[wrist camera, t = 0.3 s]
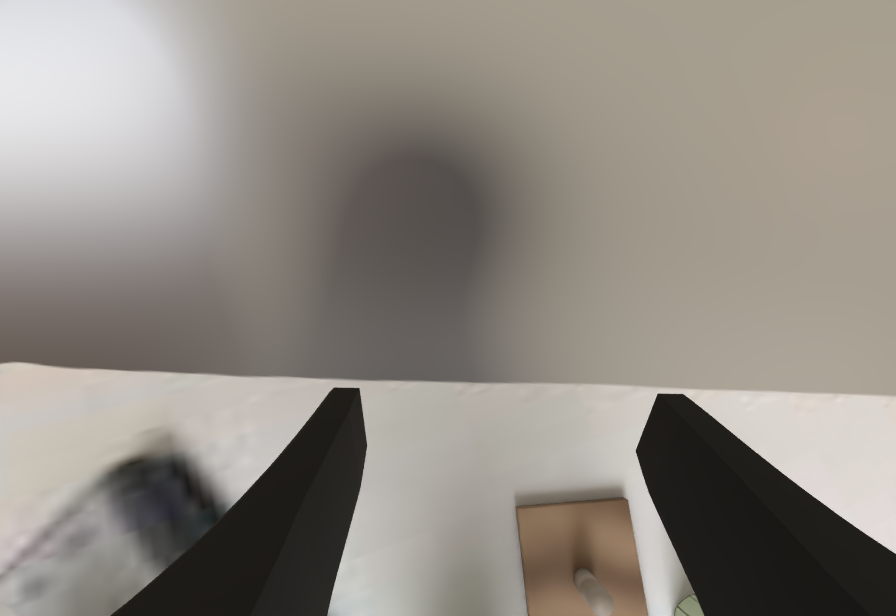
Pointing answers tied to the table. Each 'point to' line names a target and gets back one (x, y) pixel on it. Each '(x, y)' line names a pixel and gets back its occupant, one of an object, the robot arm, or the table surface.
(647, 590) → the table surface
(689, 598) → the green segmented tube
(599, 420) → the table surface
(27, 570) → the table surface
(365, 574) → the table surface
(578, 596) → the spool holder
